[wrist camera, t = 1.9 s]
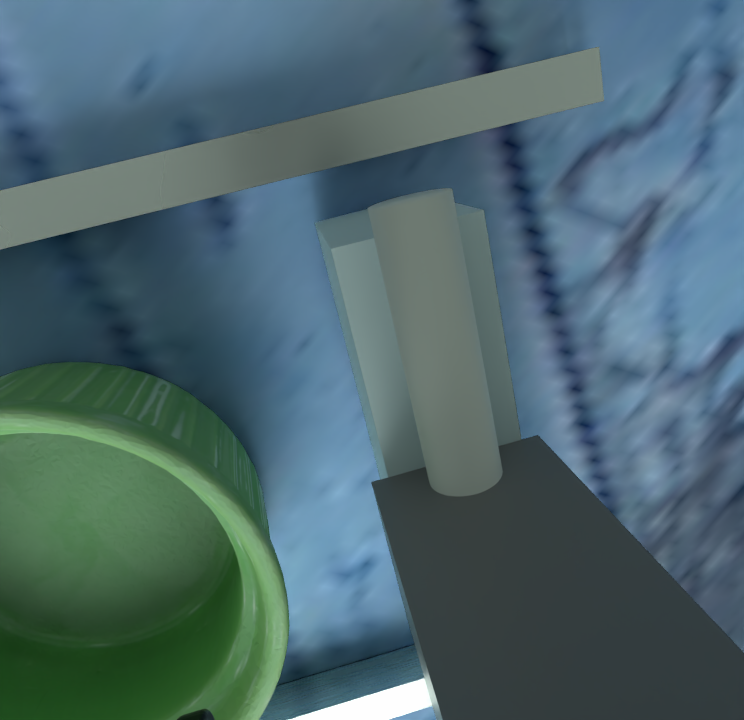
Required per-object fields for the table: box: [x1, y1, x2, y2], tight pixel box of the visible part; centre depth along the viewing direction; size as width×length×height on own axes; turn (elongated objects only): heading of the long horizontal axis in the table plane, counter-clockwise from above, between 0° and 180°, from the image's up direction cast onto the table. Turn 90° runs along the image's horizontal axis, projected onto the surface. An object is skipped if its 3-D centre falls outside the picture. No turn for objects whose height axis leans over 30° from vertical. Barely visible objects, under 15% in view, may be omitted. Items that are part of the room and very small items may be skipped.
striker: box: [315, 188, 744, 720], centre depth 10 cm, size 3×12×11 cm, turn 13°
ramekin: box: [0, 362, 289, 720], centre depth 13 cm, size 9×9×4 cm
